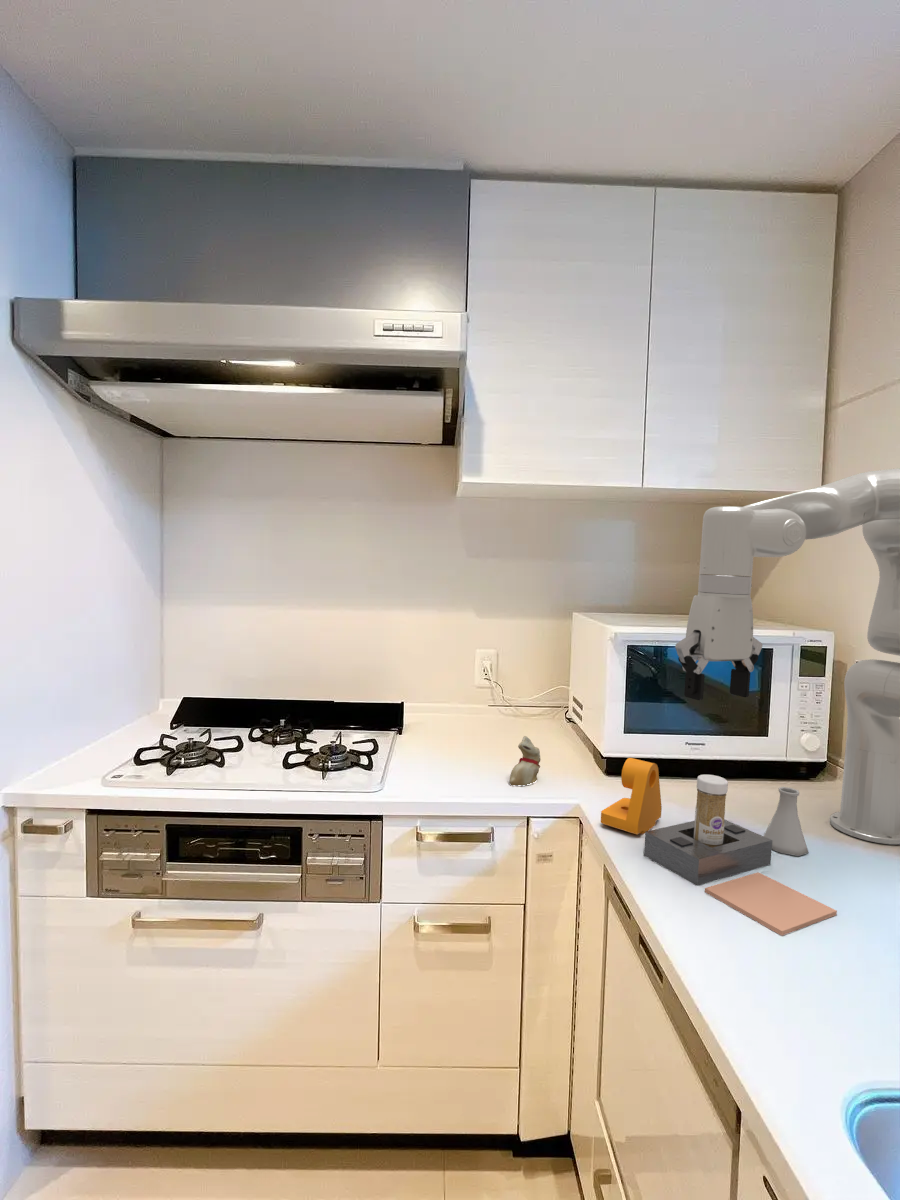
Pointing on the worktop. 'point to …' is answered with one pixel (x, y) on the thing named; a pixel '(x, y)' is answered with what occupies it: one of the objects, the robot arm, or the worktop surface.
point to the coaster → (770, 903)
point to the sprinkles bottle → (710, 810)
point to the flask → (787, 825)
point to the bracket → (636, 799)
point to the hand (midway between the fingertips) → (716, 696)
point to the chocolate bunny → (526, 764)
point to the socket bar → (707, 852)
